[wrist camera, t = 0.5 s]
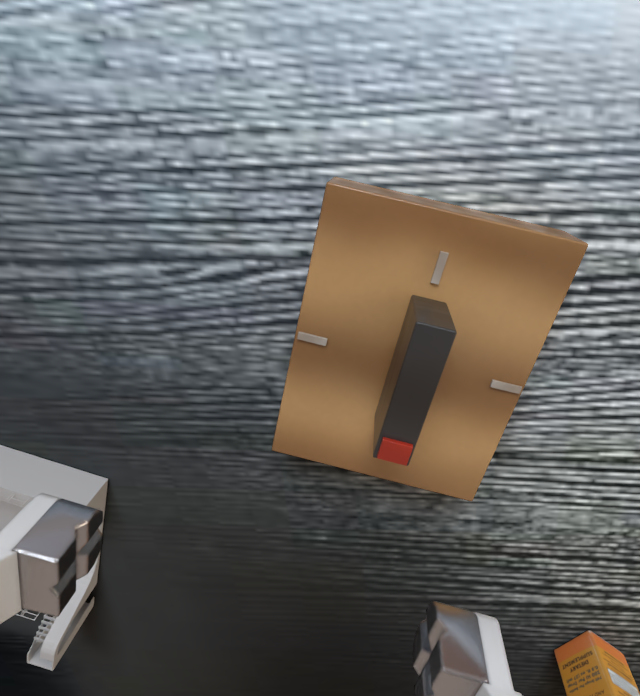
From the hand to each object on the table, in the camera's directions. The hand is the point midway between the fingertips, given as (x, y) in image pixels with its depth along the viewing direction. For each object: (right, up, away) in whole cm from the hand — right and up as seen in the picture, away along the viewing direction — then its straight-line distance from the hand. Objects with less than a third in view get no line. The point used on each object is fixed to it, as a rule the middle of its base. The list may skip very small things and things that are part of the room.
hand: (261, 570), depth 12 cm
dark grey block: (+6, +5, +11) cm, 13 cm away
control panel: (+6, +6, +14) cm, 16 cm away
